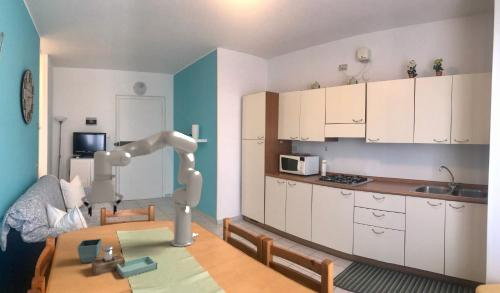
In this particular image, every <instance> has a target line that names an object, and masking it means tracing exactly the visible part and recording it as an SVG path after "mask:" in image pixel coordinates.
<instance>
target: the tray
mask: <svg viewBox="0 0 500 293" xmlns="http://www.w3.org/2000/svg"><path fill="white" fill-rule="evenodd" d="M154 269H155V270H158V262H157V261H156V260H154V259H153V257H152V256H150V255H144V256H141V257H137V258H132V259H129V260H125V267H122V268H121V266H120V265H119V264H117V270H116V271H117V273H118V274H119V275H120V277H121V278H122V279H127V278H130V276H131V277H134V276H133V275H135V276H137V274H138V275H141V273H142V274H145V273H148V272H152V271H154ZM151 270H152V271H151ZM144 272H145V273H144Z"/></svg>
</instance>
